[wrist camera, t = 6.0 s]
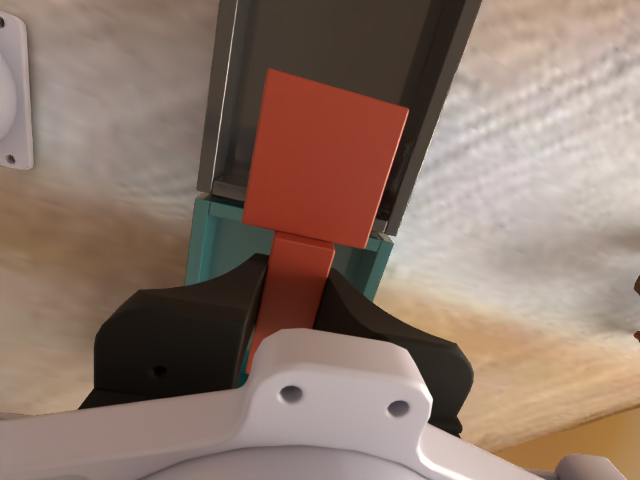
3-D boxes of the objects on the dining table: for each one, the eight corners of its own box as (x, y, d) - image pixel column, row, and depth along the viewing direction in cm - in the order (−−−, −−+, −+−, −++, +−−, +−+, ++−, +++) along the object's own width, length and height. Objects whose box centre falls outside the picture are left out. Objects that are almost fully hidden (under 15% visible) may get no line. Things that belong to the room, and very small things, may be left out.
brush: (231, 319, 15) (214, 369, 12) (274, 79, 12) (265, 63, 8) (320, 333, 16) (326, 385, 13) (386, 111, 12) (417, 107, 9)
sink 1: (186, 367, 25) (169, 403, 21) (211, 186, 20) (194, 198, 16) (324, 387, 26) (328, 423, 23) (380, 225, 21) (394, 243, 18)
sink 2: (212, 179, 20) (195, 190, 16) (255, -128, 15) (243, -199, 11) (381, 220, 21) (396, 237, 18) (471, -43, 16) (513, -83, 13)
